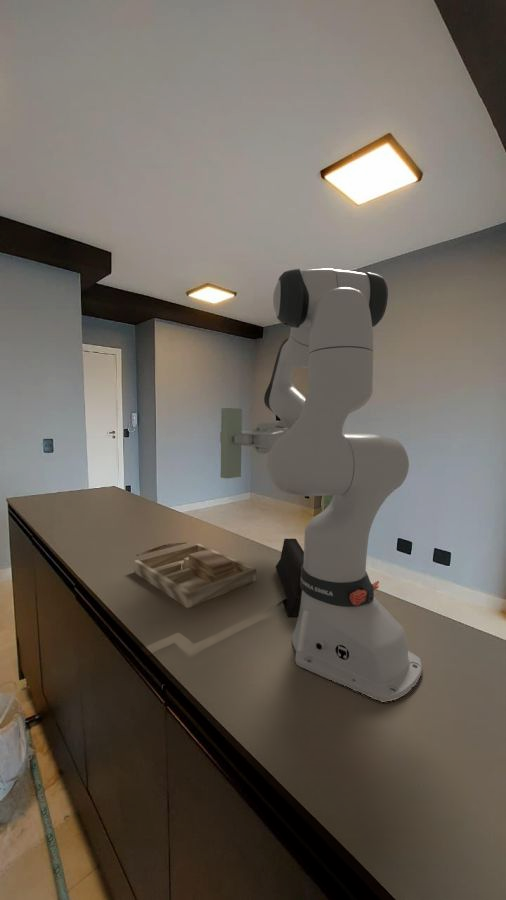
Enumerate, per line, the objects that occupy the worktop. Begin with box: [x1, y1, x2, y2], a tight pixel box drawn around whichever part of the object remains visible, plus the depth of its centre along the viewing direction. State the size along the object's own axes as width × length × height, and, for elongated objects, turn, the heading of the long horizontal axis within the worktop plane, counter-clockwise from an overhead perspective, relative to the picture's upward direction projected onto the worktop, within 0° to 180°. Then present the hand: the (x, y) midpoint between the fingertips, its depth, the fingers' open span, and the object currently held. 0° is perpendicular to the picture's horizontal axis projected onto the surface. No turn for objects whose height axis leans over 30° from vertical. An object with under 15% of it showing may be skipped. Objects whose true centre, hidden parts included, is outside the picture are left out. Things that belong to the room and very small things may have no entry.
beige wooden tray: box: [133, 543, 257, 609], centre depth 93 cm, size 24×20×4 cm
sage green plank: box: [220, 407, 243, 480], centre depth 97 cm, size 2×5×18 cm, turn 134°
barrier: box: [275, 538, 304, 618], centre depth 89 cm, size 24×9×10 cm, turn 5°
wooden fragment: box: [136, 542, 186, 556], centre depth 116 cm, size 26×11×1 cm, turn 118°
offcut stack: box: [182, 550, 237, 583], centre depth 95 cm, size 14×7×4 cm, turn 44°
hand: (228, 439), depth 97 cm, fingers closed on sage green plank, 2 cm apart
